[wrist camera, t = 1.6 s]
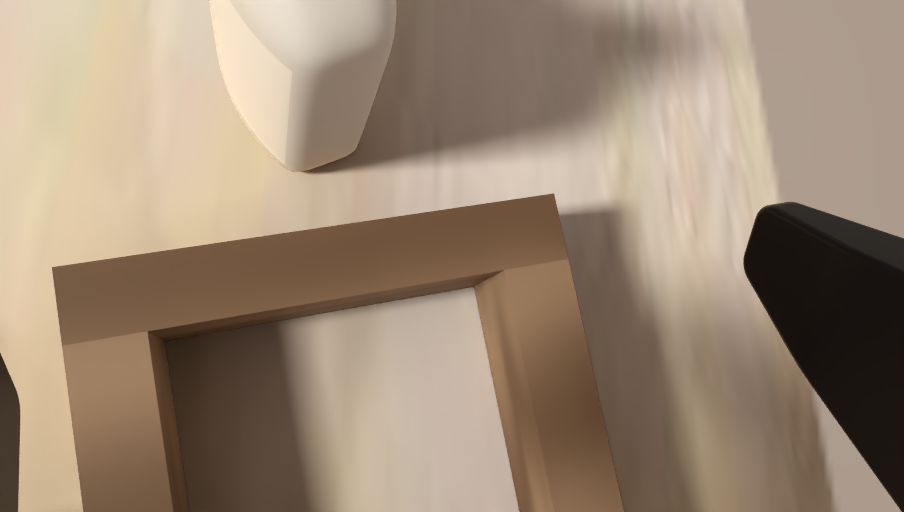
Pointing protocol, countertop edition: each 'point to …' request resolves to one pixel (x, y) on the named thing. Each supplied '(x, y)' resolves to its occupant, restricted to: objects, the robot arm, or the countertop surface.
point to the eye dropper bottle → (304, 71)
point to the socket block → (325, 290)
